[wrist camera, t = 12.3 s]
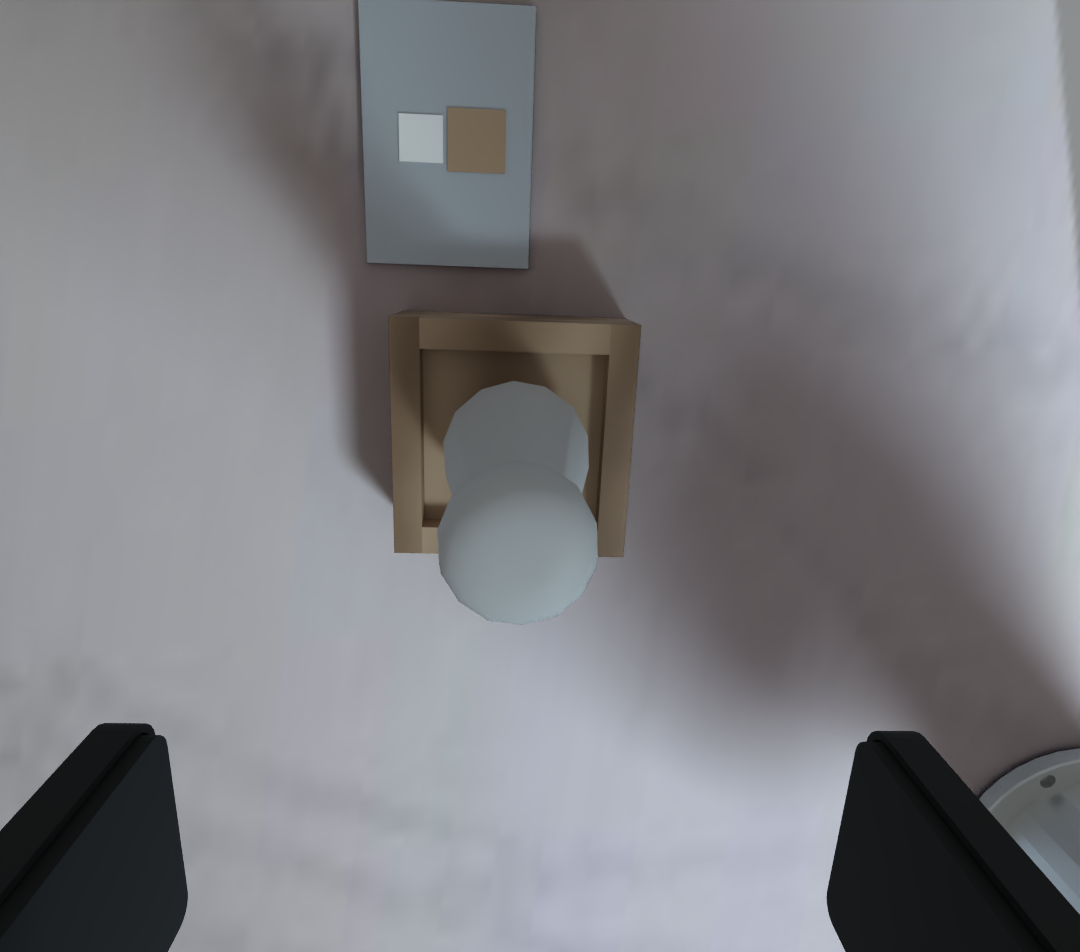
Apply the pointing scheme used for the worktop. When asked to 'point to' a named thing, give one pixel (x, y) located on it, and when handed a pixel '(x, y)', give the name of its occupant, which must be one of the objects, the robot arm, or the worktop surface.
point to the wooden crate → (495, 358)
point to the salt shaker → (517, 505)
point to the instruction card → (447, 131)
